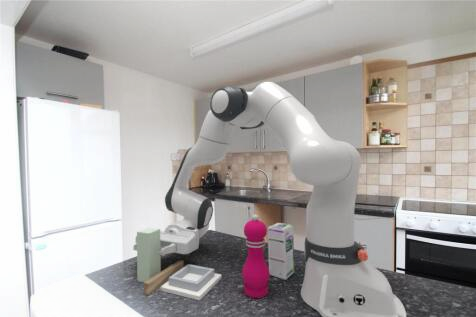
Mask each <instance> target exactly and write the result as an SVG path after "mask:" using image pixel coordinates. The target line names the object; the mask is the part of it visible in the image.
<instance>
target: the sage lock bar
mask: <svg viewBox="0 0 476 317" xmlns="http://www.w3.org/2000/svg"><path fill="white" fill-rule="evenodd" d="M160 231H161V229H160V228H154V227H146V228H144V229H141V230H139V231H137V232H136V235H137V251H136V253H137V254H136V263H137V264H136V265H137V266H136V268H137V269H136V270H137V271H136V274H137V275H136V278H137V279H136V280H137V282H141V283H144V282H146V281H147V280H149V279H150V278H152V277H154V276H155V275H157V274H158V273H160V272H161V271H162V270H161V269H162V268H161V267H162V266H161V265H162V264H161V260H162V259H161V256H162V255H159V248H160Z"/></svg>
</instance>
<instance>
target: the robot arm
mask: <svg viewBox="0 0 476 317" xmlns="http://www.w3.org/2000/svg"><path fill="white" fill-rule="evenodd" d="M209 103H210V104H209V107H210V110H208V112H207V113H206V115H205V118H204V119H203V120H204V121H203V123H202V125H201V129H200V132H199V135H198V139H197V141H196V143H195V144H194V146H192V147H189V148H188V149H187V151H186V152H185V153H184V156H183V158H182V160H181V162H180V165H179V166H178V169H177V172H176V175H175V176H174V179H173V181H172V184H171V185H170V187H169V189H168V191H167V192H166V195H165V197H164V203H165V207H166V210H168V211H169V212H171V213H174V214H177V215H179V216H182V217H183V219H181V220H179V221H177V222H174V223H171V224H169V225H167V226H166V228H165V229H164V230H163V231H162V230H160V248H159V255H160V256H165V255H167V254H180V255H188V254H190V253H192V252H193V251H196V250H198V249H199V245H200V238H202V237H203V236H204V235H205V234H206V233H207V232H208V231H209V228H210V222H211V220H212V217H213V212H214V206H213V203H212V200H211V199H210V198H208V197H206V196H205V195H203V194H200V193H197V192H196V191H195V192H194V191H193V190H190V189H189V188H188V184H189V181H190V179H191V176H192V174H193V172H194V171H195V169H196V168H197V166H200V165H213V164H217V163H220V162H221V161H223V160H224V159H225V157H226V156H227V154H228V151H229V148H230V144H231V139H232V136H233V133H234V131H235V130H236V129H238V128H240V129H241V130H252V129H259V128H261V127H263V126H264V125H265V126H266V127H267V128H268V130H269V131H270V132H271V134H273V135H274V136H275V138H276V139H278V141H279V143H281V145H282V146H283V148H284V150H285V151H286V153H287V156H288V158H289V166H290V170H291V172H292V175H293V176H294V177H295V178H296V179H297V180H298V181H299V182H301V183H302V184H306V185H310V186H313V187H312V191H311V196H310V198H309V200H308V203H307V205H306V207H305V208H306V214H305V216H306V218H305V219H306V223H305V224H306V225H305V226H306V236H305V239H304V242H303V243H304V247H303V248H304V261H305V269H304V270H305V271H304V275H303V276H304V278H303V281H302V282H303V283H302V285H301V289H300V296H301V298H302V300H303V301H304V302H305V303H306V305H308V306H310V308H313V309H314V310H316V311H317V312H318V313H319V315H320V316H321V317H407V312H406V309H405V306H404V305H403V303H402V301H401V300H400V298H399V297H397V295H396V294H394V293H393V290H392V286H391V284H390V283H389V280H388V279H387V277H386V276H385V274H384V273H382V272H381V271H380V270H378V269H377V268H376V267H375V266H373V265H372V264H371V263H370V262H369V261H367V260H369V255H368V252H367V251H366V250H365V247H364V246H363V244H361V242H359V243H358V242H357V241H355V206H356V199H357V193H358V187H359V186H358V185H359V179H360V178H359V177H360V169H361V167H362V157H361V154H360V152H359V151H358V149H356V147H354V145H352V144H351V143H349V142H346V141H342V140H336V139H335V138H332V137H331V136H329V135H328V134H327V133H326V132H325V131H324V130H323V128H322V127H321V126H320V124H319V122H318V121H317V120H316V117H315V115H314V114H313V113H312V112H311V111H309V110H308V109H307V107H305V106H304V105H303V104H302V102H300V101H299V100H298V98H296V97H295V96H293V95H292V94H291V93H290V92H289V91H287V90H286V89H285V88H283V87H282V86H280V85H279V84H277V83H275V82H274V81H273V82H272V81H264V82H260V83H259V84H258V85H257V86H256V87H255V88H254V89H253V90H252V91H246V89H245V88H244V87H236V86H233V85H231V86H230V85H226V86H225V85H224V86H220V87H218V88H217V89H216V90H215V91H214V92H213V93H212V96H211V97H210V102H209ZM132 248H133V251H136V252H137V234H136V235H135V243H134V244H133V247H132Z"/></svg>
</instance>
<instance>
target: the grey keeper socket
mask: <svg viewBox="0 0 476 317" xmlns="http://www.w3.org/2000/svg"><path fill="white" fill-rule="evenodd" d="M222 278H223V277H222V274H220V273H215V268H210V267H205V266H200V265H195V264H189V263H188V264H186V265H185V266H184V267H183V268H182V269H180V270H179V271H178V272H176V273H175V274H173V275H172V276H170V277H169V281H168V282H166V283H165V284H164V285H162V286H161V287H160V288H159V290H160V291H161V292H164V293H168V294H172V295H177V296H179V297H184V298H189V299H192V300H196V301H200V300H202V299H203V297H204V296H206V295H207V294H208V293H209V291H210V290H212V289H213V287H215V285H217V284H218V282H219V281H220V280H221V279H222Z"/></svg>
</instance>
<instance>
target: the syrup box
mask: <svg viewBox="0 0 476 317" xmlns="http://www.w3.org/2000/svg"><path fill="white" fill-rule="evenodd" d="M294 242H295V241H294V225H293V224H290V223H284V222H276V223H275V224H272V225H269V226H268V227H267V246H268V247H267V248H268V250H267V255H268V268H269V273H270V276H273V277H276V278H278V279H282V280H286V281H287V280H288V278H290V277H291V276H292V275H293V274H294V273H295V249H294V248H295V247H294V245H295V244H294Z"/></svg>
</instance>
